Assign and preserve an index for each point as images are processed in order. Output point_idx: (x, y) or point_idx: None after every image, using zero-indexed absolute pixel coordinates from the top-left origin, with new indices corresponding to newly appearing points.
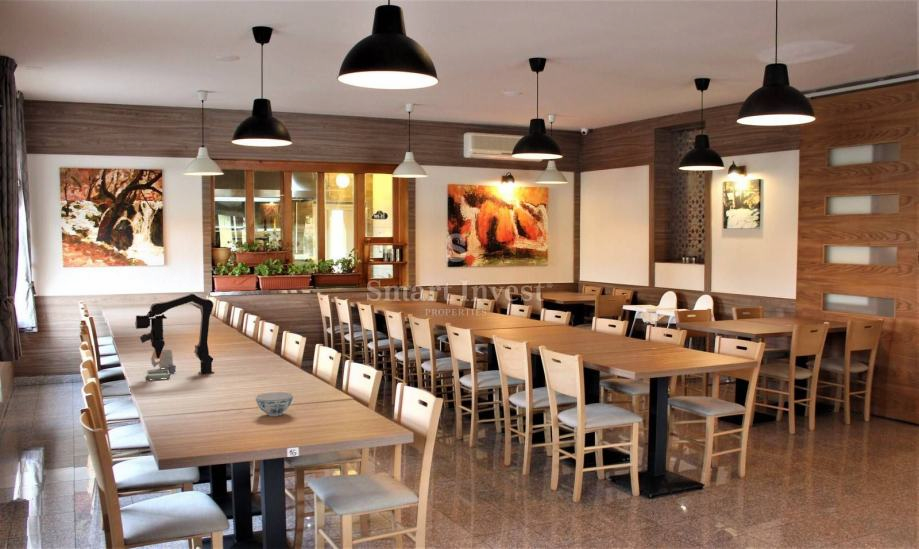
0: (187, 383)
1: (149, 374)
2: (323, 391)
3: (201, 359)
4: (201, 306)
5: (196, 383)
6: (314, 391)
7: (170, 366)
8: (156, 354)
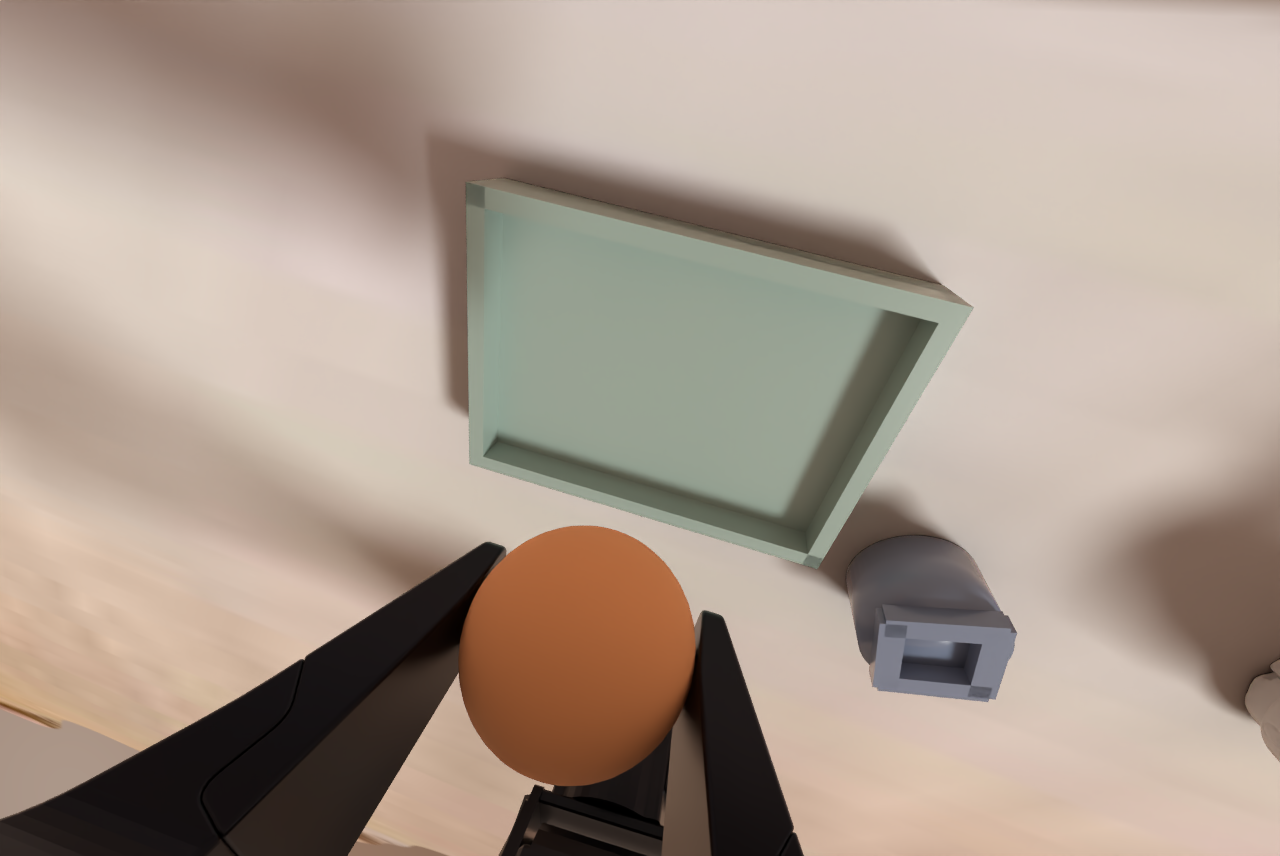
0: (222, 457)
1: (835, 307)
2: (24, 693)
3: (541, 825)
4: None
5: (214, 500)
6: (20, 682)
7: (878, 640)
8: (392, 608)
